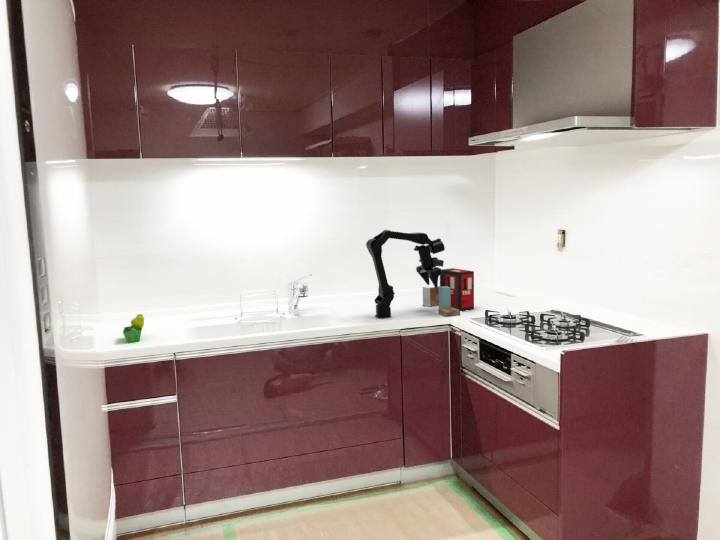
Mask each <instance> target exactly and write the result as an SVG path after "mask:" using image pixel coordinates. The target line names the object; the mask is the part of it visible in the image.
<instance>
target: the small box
mask: <svg viewBox="0 0 720 540" xmlns="http://www.w3.org/2000/svg"><path fill="white" fill-rule="evenodd" d="M439 287H440V285H438V286H437V287H435V286H434V285H433V284H432V285H427V286H423V287H422V306H423V305H425V306H424V307H427V306H429V308H432V307H436V306H435V305H438V306H439ZM431 306H432V307H431Z"/></svg>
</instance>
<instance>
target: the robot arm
mask: <svg viewBox="0 0 720 540" xmlns="http://www.w3.org/2000/svg"><path fill="white" fill-rule="evenodd" d="M389 239H392V240H393V239H394V240H401V241H408V242H411V243H415V244H417V245H415V246H414V248H413V251H415V252H418V256H419V259H418V261H419V263H421V264H420V265H418V266H416V268H415V271H416V273H417V274H418V275H419V276H420V278H421V279H422V280H423V281H424V282H425V284H426V285H427V286H430V282H431V283H432V285H434V286H435V287H437V286H439V285H438V284H439V283H438V282H439V278H440V275H441V273H442V267H444V259H443V260H442V259H438V257H433V256H432V255H431V254H433V255H435V254H438V253H441V252H444V251H445V249H446V247H445V244H444V243H443V241H442V239H441V238H436V239H434V240H431V239H430V238H429V236H428V234H427V233H425V232H409V233H408V232H403V231H393V230H388V229H384V230H382V231H380V233H378V234H377V235H375V236H374V237H373V238H369V239H368V240H366V243H365V246H366V248H367V251H368V253H369V254H370V256H371V259H372V261H373V266H374V270H375V274H376V277H377V282H378V295H377V296H376V297H375V299H374V302H375V314H374V316H375V317H376V318H378V319H387V318H392V314H391V313H392V311H391V310H392V309H391V308H392V307H390V306H391V304H392V301H394V299H395V295H396V294H395V291H394V286H392V285H390V284H389V283H388V279H387V273H386V271H385V270H386V269H385V265H384V262H383V258H382V253H383V245H385V243H387V241H388V240H389ZM440 267H441V268H440Z"/></svg>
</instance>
